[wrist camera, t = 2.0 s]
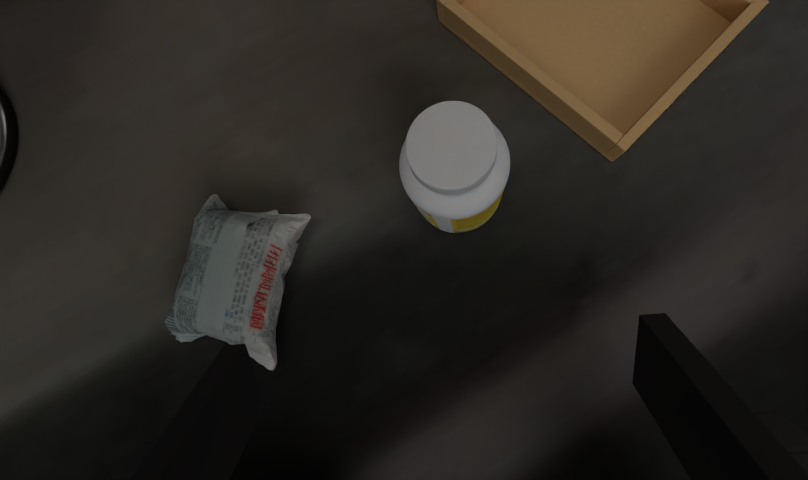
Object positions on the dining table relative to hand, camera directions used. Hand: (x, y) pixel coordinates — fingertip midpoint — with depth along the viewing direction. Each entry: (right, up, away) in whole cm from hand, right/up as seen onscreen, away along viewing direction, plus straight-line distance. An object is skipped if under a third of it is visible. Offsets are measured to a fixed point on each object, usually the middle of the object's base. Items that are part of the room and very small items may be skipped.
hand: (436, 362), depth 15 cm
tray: (+13, +21, +18) cm, 30 cm away
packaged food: (-13, +1, +20) cm, 24 cm away
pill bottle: (+3, +8, +19) cm, 20 cm away
